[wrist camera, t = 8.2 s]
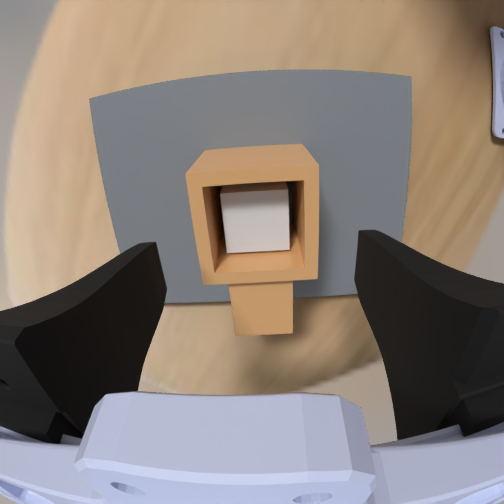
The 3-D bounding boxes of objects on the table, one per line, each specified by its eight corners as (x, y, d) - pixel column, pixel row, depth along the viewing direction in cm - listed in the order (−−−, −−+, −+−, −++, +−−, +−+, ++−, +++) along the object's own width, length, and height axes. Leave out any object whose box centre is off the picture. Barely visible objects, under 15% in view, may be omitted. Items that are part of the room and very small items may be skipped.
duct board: (404, 76, 15) (442, 76, 11) (388, 282, 22) (410, 323, 18) (97, 97, 16) (56, 104, 12) (139, 295, 23) (119, 336, 19)
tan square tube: (204, 150, 17) (185, 173, 12) (302, 143, 16) (319, 165, 12) (222, 287, 21) (214, 341, 16) (303, 283, 21) (314, 336, 16)
